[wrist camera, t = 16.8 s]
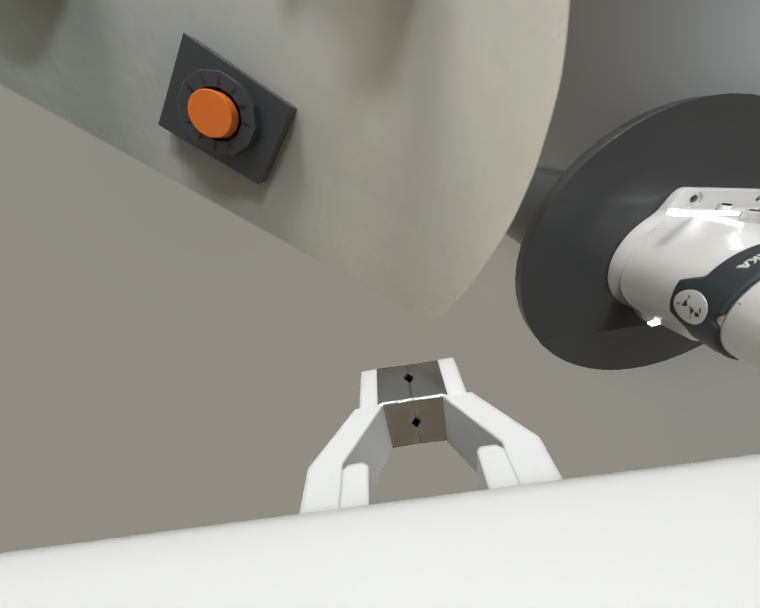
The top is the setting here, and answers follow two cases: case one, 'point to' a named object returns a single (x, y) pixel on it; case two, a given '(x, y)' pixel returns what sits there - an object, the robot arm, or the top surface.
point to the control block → (252, 100)
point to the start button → (213, 113)
